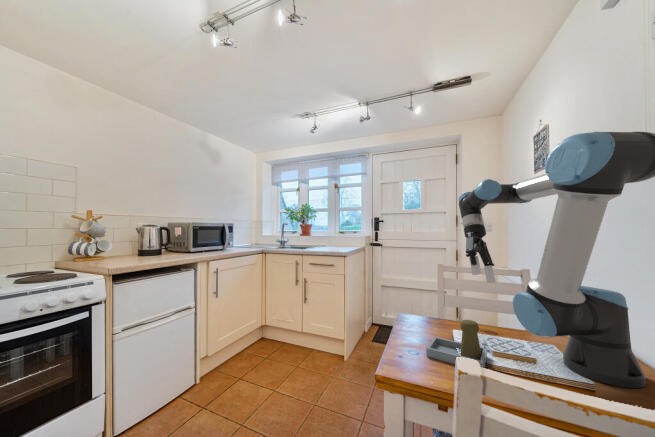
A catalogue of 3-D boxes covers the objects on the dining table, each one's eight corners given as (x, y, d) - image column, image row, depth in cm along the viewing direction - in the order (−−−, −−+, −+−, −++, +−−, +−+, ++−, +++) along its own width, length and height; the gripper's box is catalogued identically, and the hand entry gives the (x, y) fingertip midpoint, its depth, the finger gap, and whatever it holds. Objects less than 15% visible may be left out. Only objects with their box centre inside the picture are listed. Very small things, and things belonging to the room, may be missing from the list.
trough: (487, 356, 77) (486, 348, 77) (483, 372, 69) (483, 362, 69) (435, 344, 87) (434, 336, 87) (426, 356, 78) (426, 348, 78)
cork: (487, 359, 74) (484, 322, 75) (473, 363, 72) (470, 325, 73) (469, 350, 80) (467, 316, 81) (456, 354, 78) (453, 319, 79)
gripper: (476, 238, 109) (486, 286, 99) (450, 218, 95) (458, 272, 86) (495, 234, 104) (507, 284, 94) (470, 213, 90) (482, 268, 80)
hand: (484, 278), depth 90 cm, fingers open, 13 cm apart
